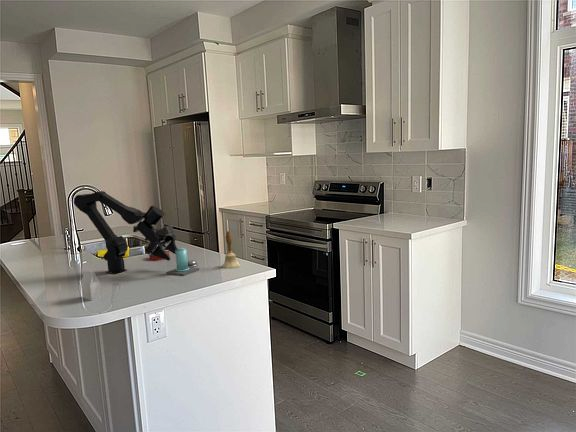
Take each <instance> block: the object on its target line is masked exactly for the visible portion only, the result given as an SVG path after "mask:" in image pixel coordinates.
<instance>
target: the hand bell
mask: <svg viewBox="0 0 576 432" xmlns="http://www.w3.org/2000/svg"><path fill="white" fill-rule="evenodd" d="M225 240H226V241H225V242H226V244H227V253H226V254H225V255H224V256H225V258H224V262H223V264H222V265H221V268H223V269H227V268H228V269H235V268H238V267H240V266H241V264H240V263H239V262H238V260H237V257H236V256H237V255H236V254H235V253H233V250H232V242H233V238H232V234H231V231H229V230H227V231H226V235H225Z"/></svg>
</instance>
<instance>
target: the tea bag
mask: <svg viewBox="0 0 576 432" xmlns="http://www.w3.org/2000/svg"><path fill="white" fill-rule="evenodd" d="M80 285H81V295H82V299H86V300H89V301H91V302H92V301H95V300H99V299H102V288H101V287H102V286H101V282H100V280H99V279H98V277H97V275H96V273H95V271H90V270H86V269H84V270H83V275H82V279H81V281H80Z"/></svg>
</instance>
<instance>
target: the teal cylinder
mask: <svg viewBox="0 0 576 432" xmlns="http://www.w3.org/2000/svg"><path fill="white" fill-rule="evenodd" d="M187 252H188V251H187V248H185V247H177V250H175V254H174V255H175V263H176V264H175V265H176V268H177V269H176V268H175V269H176V271H177V272H184V271H188V270H189V268H188V261H189V260H188V253H187Z"/></svg>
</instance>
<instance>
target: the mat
mask: <svg viewBox="0 0 576 432" xmlns="http://www.w3.org/2000/svg"><path fill="white" fill-rule="evenodd" d="M188 268H189V270H188V271H184V272H177V271H176V269H177V267H176V268H173V269H171V270H168V271H166V272H165V274H166V275H171V276H182V277H184V276H188V275H190V274H193V273H195V272H198V271H200V267H188Z"/></svg>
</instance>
